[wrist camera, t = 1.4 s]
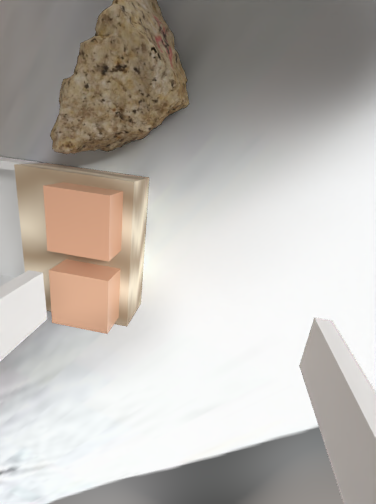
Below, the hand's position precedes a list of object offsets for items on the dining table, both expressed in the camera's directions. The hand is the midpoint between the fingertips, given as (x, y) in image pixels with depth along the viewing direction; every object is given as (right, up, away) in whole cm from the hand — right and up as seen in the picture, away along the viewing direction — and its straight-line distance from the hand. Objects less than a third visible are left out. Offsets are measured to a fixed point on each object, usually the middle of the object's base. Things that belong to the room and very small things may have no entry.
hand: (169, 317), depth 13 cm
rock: (-5, +19, +14) cm, 25 cm away
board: (-10, +5, +20) cm, 23 cm away
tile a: (-8, +7, +14) cm, 17 cm away
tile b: (-9, -1, +16) cm, 19 cm away
